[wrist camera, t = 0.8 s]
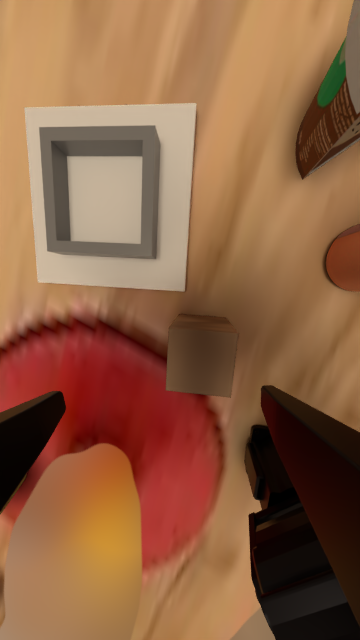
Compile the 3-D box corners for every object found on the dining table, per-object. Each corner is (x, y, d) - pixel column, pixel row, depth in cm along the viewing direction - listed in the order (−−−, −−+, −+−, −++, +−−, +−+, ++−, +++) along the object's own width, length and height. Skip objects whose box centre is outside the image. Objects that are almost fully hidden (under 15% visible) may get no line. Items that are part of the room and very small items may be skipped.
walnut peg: (225, 317, 20) (238, 333, 13) (220, 361, 21) (230, 397, 14) (179, 313, 21) (168, 328, 14) (176, 357, 22) (165, 390, 15)
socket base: (196, 113, 17) (195, 78, 14) (185, 291, 20) (182, 292, 17) (33, 116, 19) (2, 85, 16) (45, 282, 22) (21, 281, 19)
